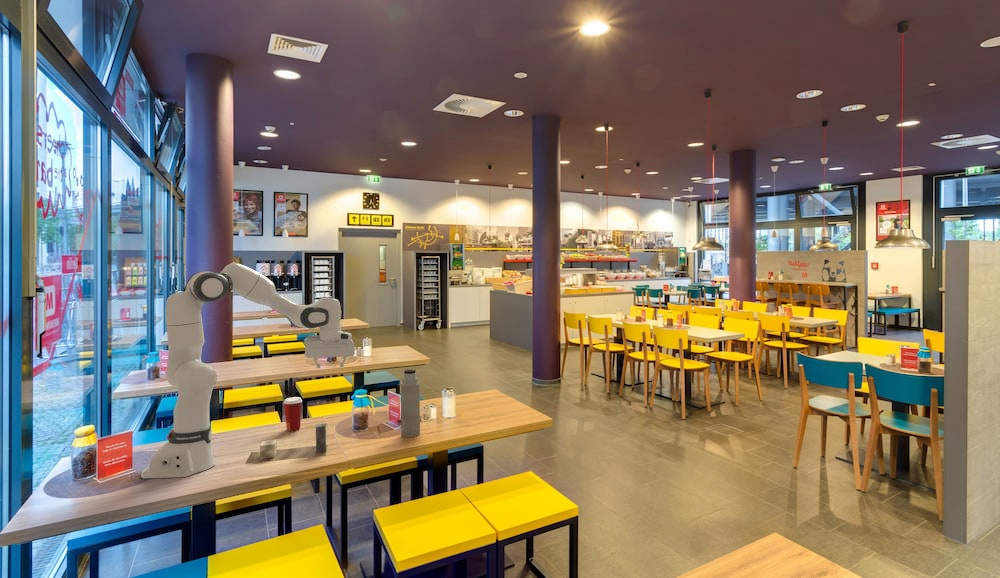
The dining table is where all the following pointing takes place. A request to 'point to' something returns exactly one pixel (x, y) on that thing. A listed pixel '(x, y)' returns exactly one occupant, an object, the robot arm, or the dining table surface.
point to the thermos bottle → (410, 404)
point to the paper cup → (293, 413)
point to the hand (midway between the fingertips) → (330, 367)
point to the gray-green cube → (268, 449)
